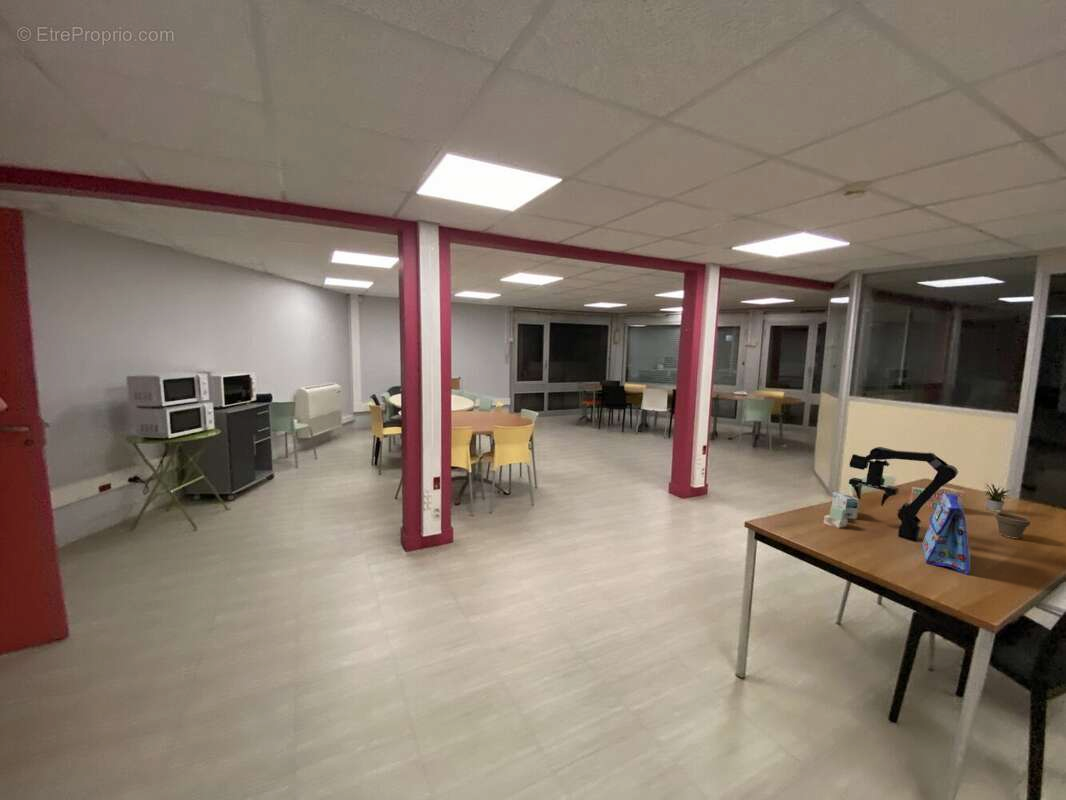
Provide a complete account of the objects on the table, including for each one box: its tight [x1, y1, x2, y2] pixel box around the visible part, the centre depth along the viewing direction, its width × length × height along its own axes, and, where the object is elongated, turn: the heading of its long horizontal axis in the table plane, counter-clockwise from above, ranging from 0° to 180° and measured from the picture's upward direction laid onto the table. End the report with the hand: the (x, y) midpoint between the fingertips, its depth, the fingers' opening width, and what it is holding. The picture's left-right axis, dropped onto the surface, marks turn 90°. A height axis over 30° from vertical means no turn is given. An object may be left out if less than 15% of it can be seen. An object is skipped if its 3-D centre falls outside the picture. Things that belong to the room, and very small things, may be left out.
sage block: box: [828, 506, 846, 521], centre depth 210 cm, size 5×5×5 cm
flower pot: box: [994, 512, 1031, 539], centre depth 208 cm, size 12×11×10 cm
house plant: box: [983, 482, 1017, 511], centre depth 244 cm, size 14×14×16 cm
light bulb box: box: [831, 491, 860, 520], centre depth 225 cm, size 11×7×11 cm, turn 179°
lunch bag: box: [921, 493, 971, 575], centre depth 178 cm, size 22×14×29 cm, turn 141°
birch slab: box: [823, 514, 849, 529], centre depth 212 cm, size 7×7×4 cm
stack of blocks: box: [909, 486, 966, 509], centre depth 244 cm, size 21×6×12 cm, turn 55°
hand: (870, 502), depth 211 cm, fingers open, 9 cm apart
